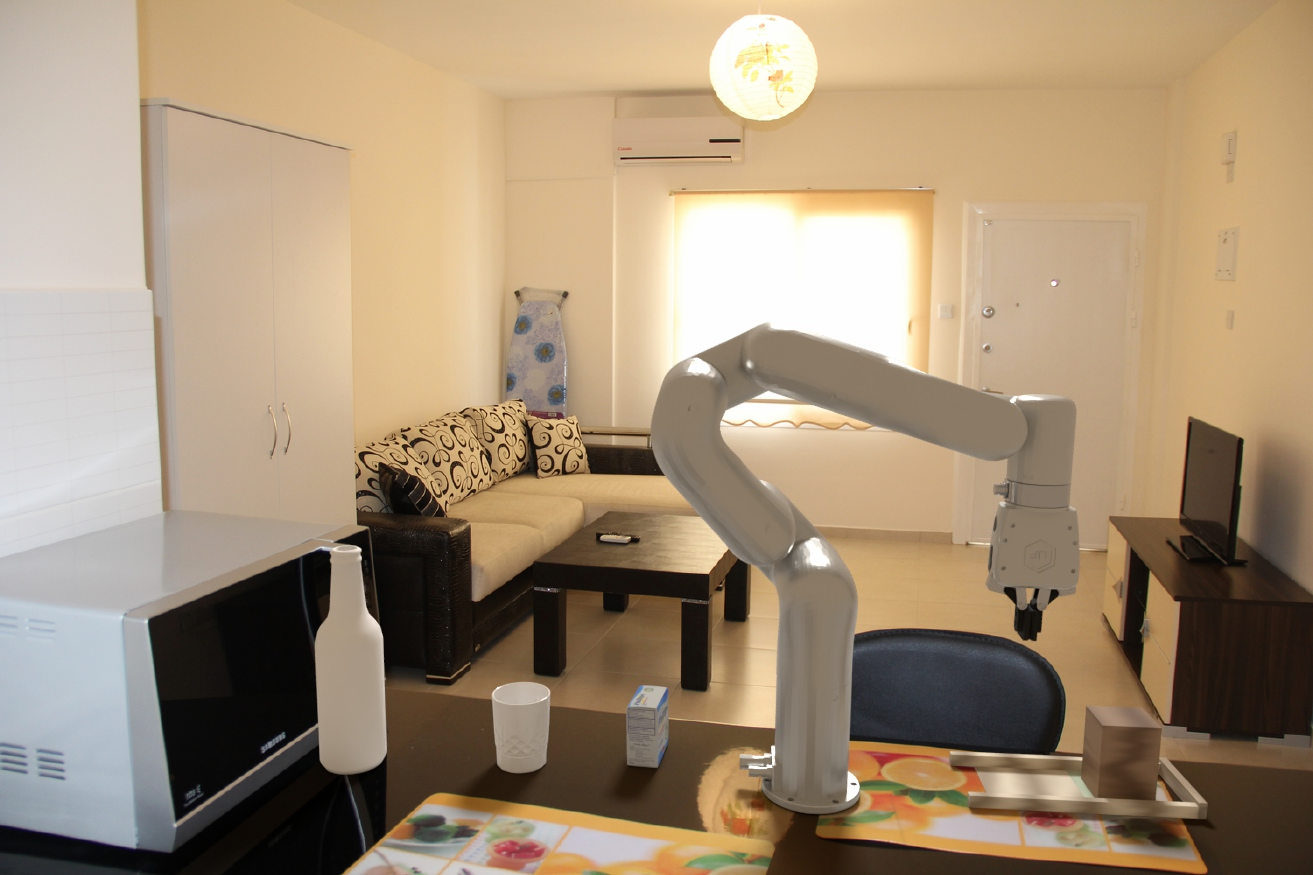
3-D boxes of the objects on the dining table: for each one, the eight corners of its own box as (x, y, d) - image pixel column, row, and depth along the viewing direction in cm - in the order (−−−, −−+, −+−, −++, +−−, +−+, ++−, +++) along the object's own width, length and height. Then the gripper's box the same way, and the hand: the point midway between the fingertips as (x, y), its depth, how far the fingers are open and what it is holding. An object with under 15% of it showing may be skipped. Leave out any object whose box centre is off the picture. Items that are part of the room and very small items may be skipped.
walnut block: (1097, 801, 123) (1102, 725, 122) (1080, 778, 129) (1086, 705, 128) (1155, 804, 123) (1161, 727, 121) (1136, 780, 129) (1142, 707, 127)
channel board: (968, 818, 122) (969, 791, 122) (948, 771, 134) (949, 747, 133) (1205, 830, 120) (1207, 803, 119) (1163, 782, 132) (1165, 757, 131)
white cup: (562, 758, 137) (561, 689, 136) (525, 781, 131) (524, 709, 129) (518, 744, 141) (517, 677, 140) (480, 766, 135) (479, 696, 133)
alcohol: (307, 771, 133) (296, 554, 128) (342, 743, 141) (334, 538, 137) (366, 779, 131) (358, 559, 126) (398, 750, 139) (392, 542, 135)
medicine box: (657, 769, 134) (658, 708, 133) (625, 766, 135) (625, 705, 134) (668, 743, 142) (669, 686, 141) (638, 740, 143) (638, 683, 141)
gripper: (981, 498, 119) (972, 644, 122) (1110, 503, 118) (1098, 651, 120) (968, 486, 127) (960, 624, 129) (1090, 491, 125) (1078, 630, 128)
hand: (1026, 637), depth 125 cm, fingers closed
